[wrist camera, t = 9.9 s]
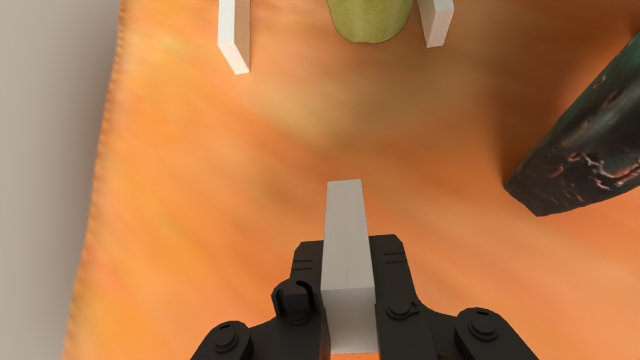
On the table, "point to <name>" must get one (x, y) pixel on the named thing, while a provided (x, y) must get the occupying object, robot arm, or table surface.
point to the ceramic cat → (587, 145)
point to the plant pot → (369, 18)
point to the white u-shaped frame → (237, 28)
